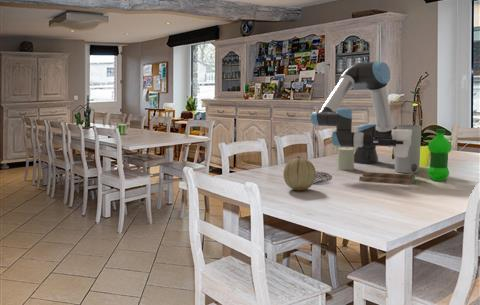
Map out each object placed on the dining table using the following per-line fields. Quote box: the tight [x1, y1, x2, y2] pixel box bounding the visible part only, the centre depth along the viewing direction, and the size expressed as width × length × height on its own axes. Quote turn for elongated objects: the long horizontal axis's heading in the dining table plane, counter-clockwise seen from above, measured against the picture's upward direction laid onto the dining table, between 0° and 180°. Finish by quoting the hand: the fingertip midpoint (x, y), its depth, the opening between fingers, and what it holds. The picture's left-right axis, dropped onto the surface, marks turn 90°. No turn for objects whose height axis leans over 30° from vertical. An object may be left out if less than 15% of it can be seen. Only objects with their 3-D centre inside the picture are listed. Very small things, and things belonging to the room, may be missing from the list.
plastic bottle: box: [427, 128, 453, 182], centre depth 222 cm, size 10×10×25 cm
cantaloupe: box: [283, 156, 317, 192], centre depth 203 cm, size 15×15×15 cm
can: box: [336, 147, 355, 171], centre depth 255 cm, size 9×9×12 cm
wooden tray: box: [358, 162, 417, 185], centre depth 224 cm, size 26×14×9 cm, turn 68°
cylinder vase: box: [394, 124, 422, 175], centre depth 244 cm, size 12×12×25 cm
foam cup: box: [392, 129, 412, 158], centre depth 220 cm, size 10×9×13 cm
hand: (411, 141), depth 218 cm, fingers closed on foam cup, 9 cm apart
